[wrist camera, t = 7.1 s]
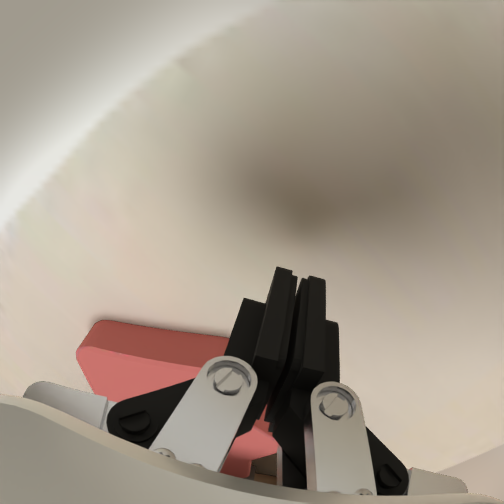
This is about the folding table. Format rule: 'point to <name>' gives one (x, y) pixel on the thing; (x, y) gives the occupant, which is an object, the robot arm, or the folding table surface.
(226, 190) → the folding table surface
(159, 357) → the plaque
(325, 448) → the robot arm
